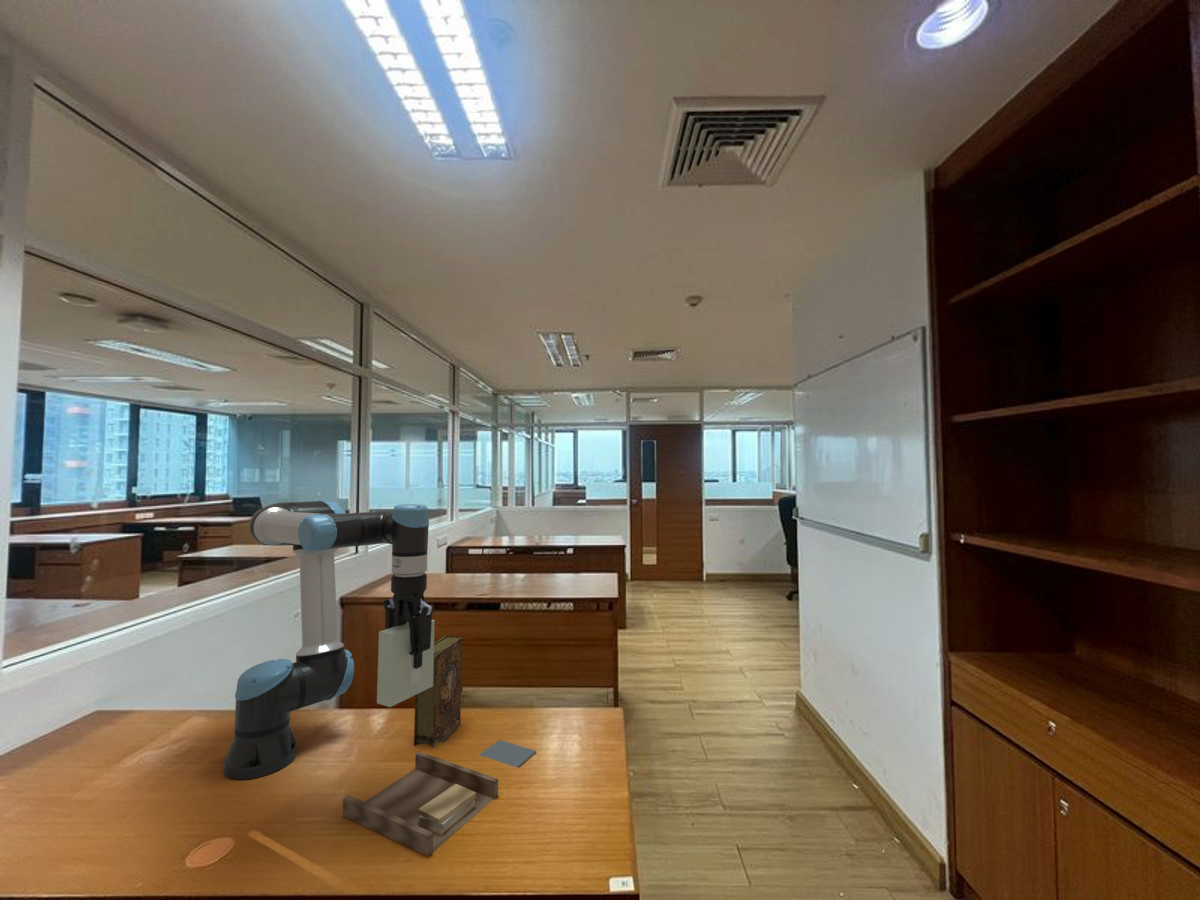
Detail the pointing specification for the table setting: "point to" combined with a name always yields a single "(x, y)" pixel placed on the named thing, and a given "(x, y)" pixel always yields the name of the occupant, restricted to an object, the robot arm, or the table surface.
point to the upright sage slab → (401, 666)
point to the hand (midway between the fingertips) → (406, 679)
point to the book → (440, 695)
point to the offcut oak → (446, 803)
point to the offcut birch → (440, 831)
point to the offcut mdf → (445, 822)
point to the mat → (508, 753)
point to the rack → (419, 802)
